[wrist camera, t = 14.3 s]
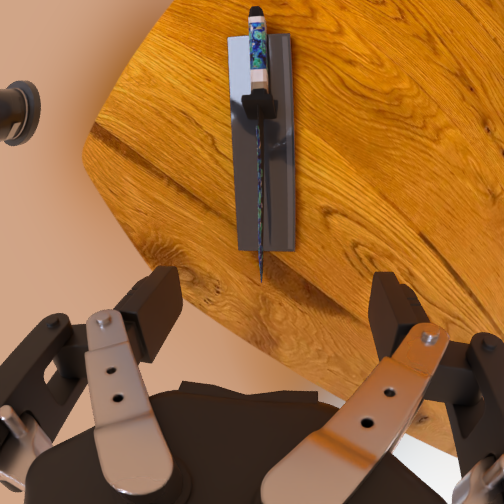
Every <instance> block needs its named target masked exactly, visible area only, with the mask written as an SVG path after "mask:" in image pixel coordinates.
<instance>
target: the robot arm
mask: <svg viewBox="0 0 504 504" xmlns="http://www.w3.org/2000/svg"><path fill="white" fill-rule="evenodd" d="M28 118H29V100H28V97H27V94H26V93H25V91H24V90H23V89H21V88H12V89H0V142H1V141H5V140H12V139H16V138H18V137H19V136H20V135H21V134H22V133H23V131H24V130H25V128H26V125H27V122H28ZM182 306H183V299H182V293H181V287H180V281H179V274H178V270H177V268H176V267H175V266H157V267H156V269H155V270H154V271H153V272H152V273H151V274H150V275H149V276H147V277H145V278H143V279H142V280H140V281H138V282H137V283H136V284H135V285H134V286H133V287H132V290H130V291H129V292H128V293H127V295H125V296H124V297H123V299H122V300H121V301H120V302H119V303H118V304H117V305H116V306H115V308H114V309H113V310H112V309H111V310H110V309H108V310H102V311H99V312H97V313H95V314H93V315H92V316H90V317H89V318H88V320H87V322H86V324H78V325H71V323H70V320H69V317H68V316H67V315H66V314H63V313H56V314H52V315H50V316H47V317H46V318H44V319H43V320H42V321H41V322H40V323H39V324H38V325H37V326H36V327H35V328H34V329H33V330H32V331H31V332H30V333H29V334H28V335H27V337H26V338H25V339H24V340H23V341H22V342H21V343H20V344H19V345H18V346H17V348H16V349H15V350H14V351H13V352H12V353H11V354H10V355H9V357H8V358H7V359H6V360H5V361H4V362H3V364H2V365H1V366H0V482H1V483H2V484H3V485H5V486H6V487H7V488H8V489H9V490H11V491H13V492H22V491H24V492H25V499H24V504H447V503H446V501H445V500H444V499H443V498H442V497H441V496H440V495H439V494H437V493H436V492H435V491H434V490H433V489H431V488H430V487H429V486H428V485H427V484H426V483H424V482H423V481H422V480H421V479H420V478H419V477H418V476H416V475H415V474H414V473H413V472H412V471H411V470H409V469H408V468H407V467H406V466H405V465H404V464H403V463H402V462H400V461H399V460H398V459H397V458H396V457H395V456H394V455H392V453H393V451H394V450H395V448H396V447H397V445H398V443H399V442H400V440H401V438H402V437H403V435H404V434H405V432H406V430H407V429H408V427H409V425H410V424H411V422H412V421H413V419H414V417H415V415H416V414H417V412H418V410H419V409H420V407H421V405H422V403H423V401H424V399H425V400H431V401H437V402H444V403H445V406H446V409H447V413H448V417H449V421H450V425H451V429H452V433H453V437H454V442H455V446H456V451H457V456H458V460H459V466H460V471H461V477H462V479H461V480H460V481H459V482H458V484H457V485H456V486H455V488H454V491H453V495H452V504H504V343H503V341H502V340H501V339H500V338H498V337H497V336H495V335H493V334H490V333H485V332H481V333H477V334H475V335H474V336H473V337H472V339H471V342H470V344H466V343H459V342H454V341H450V340H449V335H448V333H447V332H446V331H445V330H444V329H443V328H442V327H440V326H438V325H435V324H432V323H431V322H430V321H429V319H428V317H427V315H426V313H425V311H424V309H423V307H422V306H421V304H420V302H419V300H417V296H416V294H415V293H414V291H413V290H412V289H411V288H409V287H408V286H407V285H406V284H399V282H398V280H397V278H396V276H395V274H394V272H375V273H374V276H373V282H372V288H371V295H370V301H369V308H368V318H369V323H370V327H371V330H372V334H373V338H374V342H375V346H376V350H377V354H378V358H379V362H380V363H379V364H378V365H377V366H376V368H375V369H374V370H373V371H372V372H371V374H370V375H369V376H368V377H367V378H366V380H365V381H364V382H363V383H362V384H361V386H360V387H359V388H358V389H357V390H356V391H355V393H354V394H353V395H352V396H351V397H350V398H349V399H348V400H347V402H346V403H345V404H344V405H343V406H342V407H341V408H340V409H339V408H337V407H335V406H332V405H330V404H326V403H323V402H319V401H318V392H317V391H284V390H283V391H276V392H268V393H260V394H252V395H245V394H241V393H238V392H235V391H231V390H228V389H225V388H222V387H219V386H216V385H210V384H202V383H195V382H188V381H182V383H181V385H180V387H179V390H172V391H166V392H162V393H158V394H156V395H152V396H150V397H149V395H148V392H147V390H146V387H145V384H144V381H143V379H142V376H141V373H140V370H139V368H138V365H139V363H140V362H145V363H152V362H153V361H154V359H155V357H156V355H157V354H158V352H159V350H160V348H161V347H162V345H163V343H164V341H165V340H166V338H167V336H168V334H169V333H170V331H171V329H172V327H173V325H174V324H175V322H176V320H177V319H178V317H179V315H180V314H181V311H182ZM52 360H53V362H54V364H55V365H56V367H57V371H56V372H55V374H54V375H53V376H52V378H51V379H50V381H49V382H48V383H47V385H46V383H45V381H44V371H45V369H46V368H47V366H48V365H49V364H50V362H51V361H52ZM87 384H88V386H89V392H90V398H91V404H92V410H93V415H94V421H95V426H94V427H92V428H90V429H88V430H86V431H84V432H82V433H80V434H78V435H76V436H74V437H72V438H70V439H68V440H66V441H64V442H62V443H60V444H58V445H56V446H54V447H53V446H52V443H53V441H54V440H55V438H56V436H57V434H58V432H59V431H60V429H61V427H62V426H63V424H64V422H65V420H66V419H67V417H68V415H69V414H70V412H71V410H72V408H73V407H74V405H75V403H76V402H77V400H78V398H79V397H80V395H81V394H82V392H83V390H84V389H85V387H86V385H87ZM482 396H483V397H482ZM483 399H484V400H483Z"/></svg>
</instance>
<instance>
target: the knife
mask: <svg viewBox="0 0 504 504" xmlns="http://www.w3.org/2000/svg"><path fill="white" fill-rule="evenodd" d="M248 23H249V46H250V75H251V76H250V78H251V94H250V95H242V96H241V102H242V105H243V108H244V110H245V113H246V115H247V118H248V119H258V124H257V125H256V136H257V158H258V245H259V267H260V275H261V283H262V273H263V234H264V119H274V118H276V112H275V106H274V100H273V95H272V94H268V63H267V33H266V27H267V26H266V21H265V18H264V14H263V11H262V9H261V8H260V7H259V6H253V7H251V9H250V12H249V22H248Z"/></svg>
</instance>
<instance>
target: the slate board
mask: <svg viewBox="0 0 504 504" xmlns="http://www.w3.org/2000/svg"><path fill="white" fill-rule="evenodd" d="M227 41H228V65H229V87H230V108H231V128H232V148H233V166H234V184H235V201H236V218H237V235H238V250H242V251H259V245H258V158H257V136H256V125H257V124H258V119H248V118H247V115H246V113H245V110H244V108H243V105H242V102H241V96H242V95H250V94H251V78H250V76H251V75H250V46H249V35H246V36H235V37H228V38H227ZM267 63H268V94H272V95H273V100H274V106H275V112H276V118H274V119H264V234H263V251H294V252H295V233H296V185H295V128H294V97H293V74H292V55H291V38H290V33H285V34H267Z"/></svg>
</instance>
